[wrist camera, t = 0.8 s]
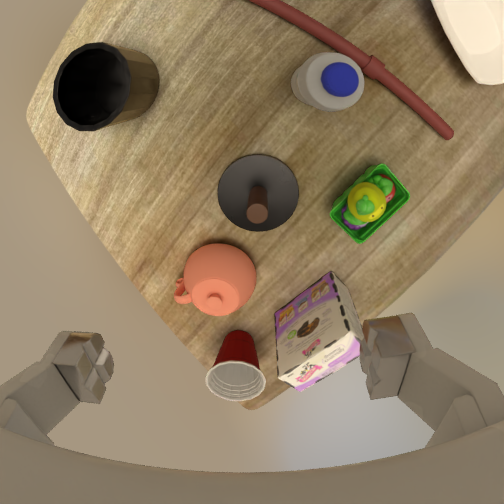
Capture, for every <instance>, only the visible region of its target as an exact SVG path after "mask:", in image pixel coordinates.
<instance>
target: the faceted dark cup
mask: <svg viewBox="0 0 504 504" xmlns="http://www.w3.org/2000/svg"><path fill="white" fill-rule="evenodd" d="M158 89H159V74H158V70H157V68H156V66H155V64H154V62H153V61H152V60H151V59H150V58H149V57H148V56H147V55H145V54H143V53H141V52H138V51H136V50H133V49H129V48H125V47H121V46H117V45H112V44H108V43H103V42H99V43H89V44H85V45H83V46H81V47H80V48H78V49H76V50H74V51H72V52H71V53H70V55H69V56H68V57H67V58H66V59H65V60H64V62H63V63H62V64H61V65H60V68H59V70H58V73H57V75H56V78H55V80H54V89H53V100H54V103H55V107H56V110H57V113H58V114H59V116H60V117H61V118H62V119H63V121H64V122H65V123H66V124H67V125H69V126H71V127H73V128H74V129H76V130H78V131H96V130H99V129H102V128H106V127H109V126H112V125H116V124H119V123H122V122H126V121H129V120H131V119H134V118H137V117H139V116H141V115H142V114H143V113H144V112H146V111H147V110H148V109H149V108H150V106H151V105H152V104H153V102H154V100H155V98H156V96H157V93H158Z"/></svg>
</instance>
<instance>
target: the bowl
mask: <svg viewBox="0 0 504 504" xmlns="http://www.w3.org/2000/svg"><path fill="white" fill-rule="evenodd" d="M431 2H432V4H433V7H434V9H435V11H436V14H437V16H438V18H439V20H440V23H441V25H442V27H443V29H444V31H445V34H446V35H447V37H448V39H449V41H450V43H451V44H452V46H453V48H454V50H455V52H456V53H457V55H458V57H459V58H460V60H461V62H462V63H463V65H464V67H465V69H466V70H467V71H468V72H469V74H470V75H471V76H472V77H473V79H474V80H475V81H476V82H477V83H479V84H487V85H496V84H502V83H504V0H431Z"/></svg>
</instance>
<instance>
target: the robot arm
mask: <svg viewBox="0 0 504 504" xmlns="http://www.w3.org/2000/svg"><path fill="white" fill-rule="evenodd" d="M362 332H363V335H364V338H363V339H362V340H361V342H360V350H359V351H360V363H361V367H362V371H363V372H364V373H365V374H367V379H366V385H367V389H368V392H369V395H370V399H371V400H373V399H379V398H386V397H392V396H398V398H399V399H400V400H401V401H403V402H404V403H405V404H406V405H407V406H408V407H409V408H410V409H411V410H412V411H414V412H415V413H416V414H417V415H418V416H419V417H420V418H421V419H422V420H423V421H425V422H426V423H427V424H428V425H429V426H430V427H431V428H432V429H433V430H434V431H435V433H434V434H433V436H432V438H431V439H430V441H429V442H428V444H427V445H426V447H425V448H423V449H419V450H416V451H412V452H408V453H404V454H400V455H396V456H391V457H387V458H382V459H377V460H372V461H367V462H361V463H355V464H349V465H342V466H335V467H328V468H319V469H310V470H297V471H284V472H258V473H257V472H256V473H233V472H229V473H228V472H204V471H189V470H178V469H167V468H160V467H151V466H145V465H138V464H132V463H126V462H120V461H115V460H110V459H105V458H100V457H96V456H91V455H87V454H83V453H79V452H75V451H71V450H68V449H64V448H60V447H57V446H54V443H53V442H52V441H51V440H50V438H49V437H48V436H47V434H48V433H49V432H50V431H51V430H52V429H53V428H54V427H55V426H56V425H57V424H58V423H59V422H60V421H61V420H62V419H63V418H64V417H65V416H66V415H67V414H68V413H70V411H72V410H73V409H74V408H75V407H76V406H77V405H78V404H79V403H80V402H79V401H81V402H88V403H98V404H100V402H101V400H102V398H103V395H104V393H105V391H106V387H105V383H106V382H107V381H109V380H110V379H111V377H112V374H113V367H114V363H113V358H112V356H111V354H110V352H109V351H107V350H106V349H105V348H104V347H103V346H104V340H103V338H102V336H101V335H100V334H98V333H89V332H75V331H74V332H71V331H62V332H60V333H59V334H58V335H57V337H56V338H55V340H54V341H53V343H52V344H51V346H50V347H49V349H48V351H47V352H46V353H45V355H44V356H43V358H42V359H41V361H40V362H36V363H34V364H32V365H31V366H29V367H28V368H26V369H25V370H23V371H22V372H20V373H19V374H17V375H16V376H14V377H13V378H11V379H10V380H8V381H7V382H5V383H4V384H2V385H1V386H0V504H504V396H503V394H502V392H501V390H500V388H499V387H498V385H497V383H496V382H494V381H492V380H491V379H489V378H487V377H485V376H484V375H482V374H480V373H479V372H477V371H475V370H474V369H472V368H470V367H468V366H467V365H465V364H464V363H462V362H460V361H459V360H457V359H455V358H454V357H452V356H450V355H448V354H447V353H445V352H443V351H442V350H440V349H438V348H435V349H433V347H432V345H431V344H430V342H429V340H428V338H427V336H426V335H425V333H424V331H423V329H422V327H421V325H420V324H419V322H418V320H417V318H416V317H415V315H414V314H413V313H406V314H401V315H396V316H390V317H383V318H375V319H368V320H364V322H363V327H362Z"/></svg>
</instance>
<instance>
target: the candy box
mask: <svg viewBox="0 0 504 504" xmlns="http://www.w3.org/2000/svg"><path fill="white" fill-rule="evenodd" d="M274 315H275V332H276V351H277V373H278V379H280V380H282V381H283V382H285V383H286V384H288V385H290V386H291V387H293V388H295V389H296V390H298V391H299V392H301V391H303V390H305V389H307V388H308V387H310V386H312V385H313V384H315V383H317V382H319V381H320V380H322V379H324V378H325V377H327V376H329V375H330V374H332V373H334V372H335V371H337V370H339V369H340V368H342V367H343V366H345V365H347V364H348V363H350V362H351V361H353V360H354V359H356V358H358V357H359V356H360V351H359V350H360V342H361V340H362V339H363V338H364V335H363V332H362V326H361V323H360V320H359V317H358V315H357V312H356V309H355V306H354V303H353V301H352V298H351V295H350V292H349V290H348V288H347V287H346V286H345V285H344V284H343V283H342V282H341V281H340V280H339V278H338V277H337V276H336V275H335V274H334V273H333V272H332V271H331V272H329V273H327V274H326V275H325V276H323V277H322V278H321V279H320V280H318V281H317V282H316V283H314V284H313V285H312V286H310V287H309V288H308V289H307V290H305V291H304V292H303V293H301V294H300V295H299V296H297V297H296V298H295V299H293V300H292V301H291V302H289V303H288V304H287V305H286V306H284V307H283V308H281V309H280V310H279V311H277V312H276V313H275V314H274Z"/></svg>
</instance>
